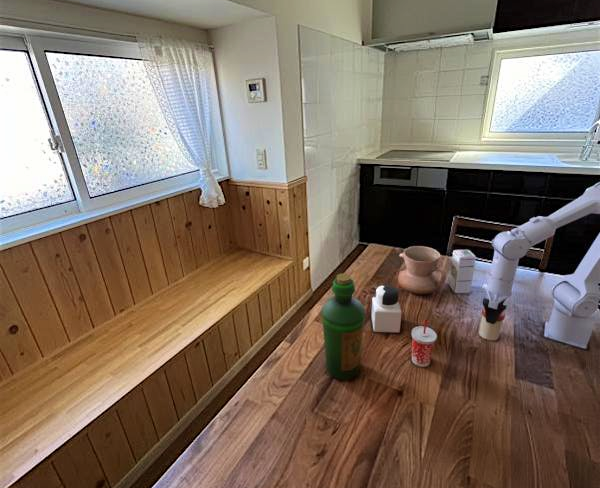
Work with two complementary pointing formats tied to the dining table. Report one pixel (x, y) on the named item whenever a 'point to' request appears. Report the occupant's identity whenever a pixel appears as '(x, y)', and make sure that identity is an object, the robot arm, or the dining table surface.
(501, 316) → the jar lid
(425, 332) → the beverage cup
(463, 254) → the syrup box
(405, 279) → the ceramic jug
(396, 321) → the container
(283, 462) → the dining table surface
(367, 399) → the dining table surface
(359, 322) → the bottle
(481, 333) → the jam jar
